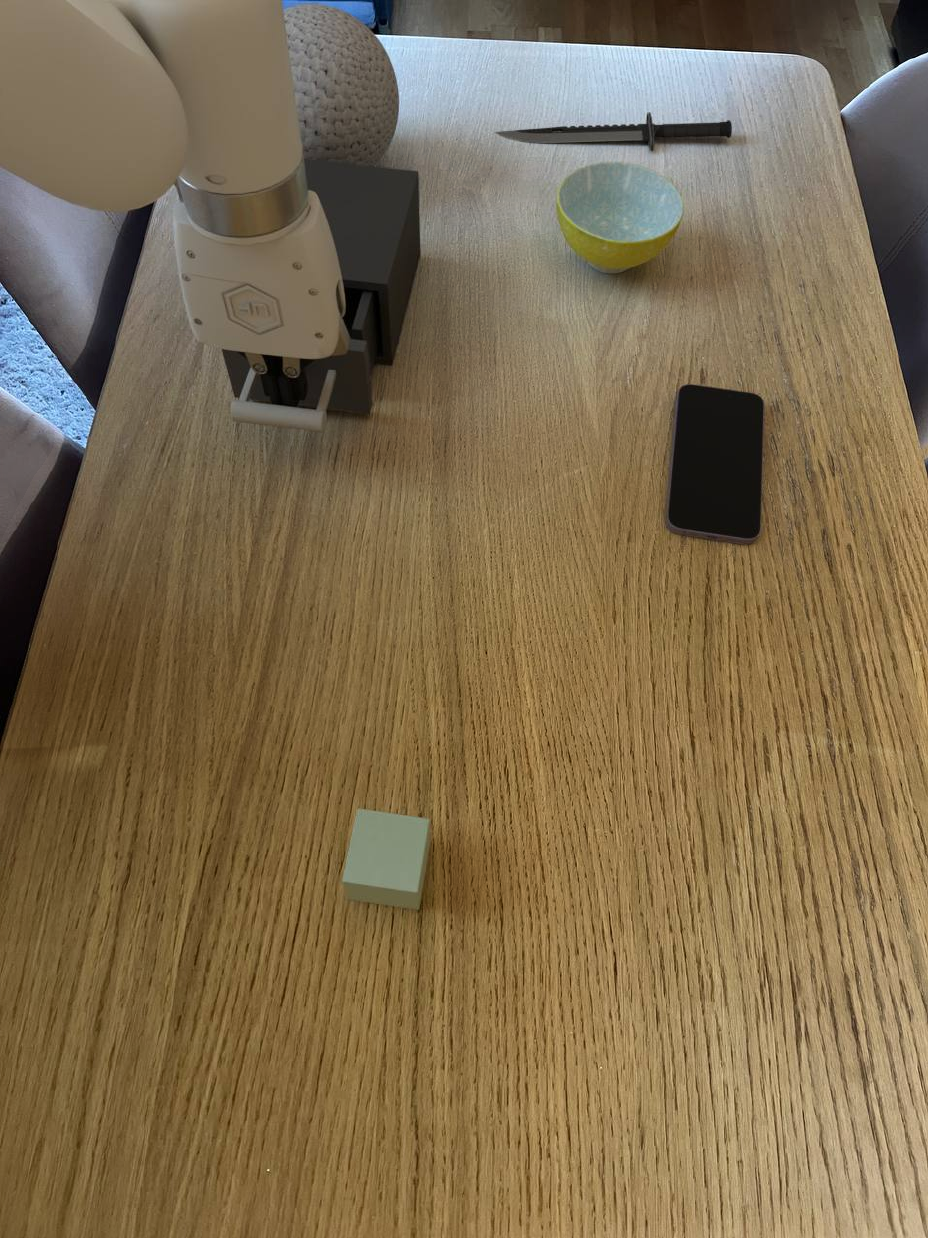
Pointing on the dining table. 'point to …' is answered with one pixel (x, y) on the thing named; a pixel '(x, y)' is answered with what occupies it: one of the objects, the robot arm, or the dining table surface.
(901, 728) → the dining table surface
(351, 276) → the cabinet
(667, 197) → the bowl
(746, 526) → the smartphone
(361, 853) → the block
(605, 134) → the knife
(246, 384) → the drawer
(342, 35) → the decorative ball
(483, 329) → the dining table surface
